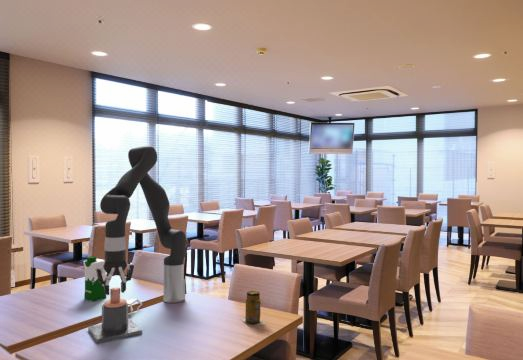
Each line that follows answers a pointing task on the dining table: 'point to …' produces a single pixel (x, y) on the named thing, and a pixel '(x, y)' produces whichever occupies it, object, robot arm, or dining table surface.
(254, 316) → the condiment
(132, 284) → the dining table surface
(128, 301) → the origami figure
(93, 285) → the milk carton
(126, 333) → the flanged pipe socket
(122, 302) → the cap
